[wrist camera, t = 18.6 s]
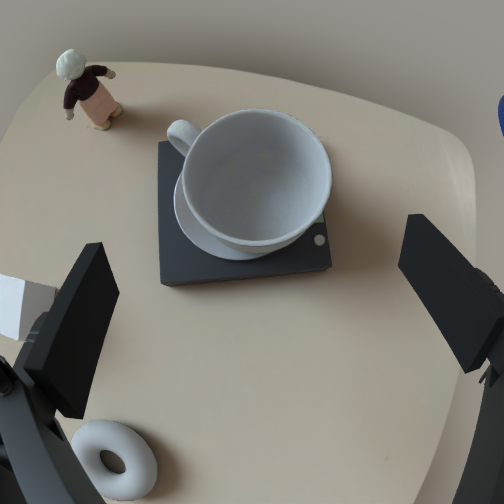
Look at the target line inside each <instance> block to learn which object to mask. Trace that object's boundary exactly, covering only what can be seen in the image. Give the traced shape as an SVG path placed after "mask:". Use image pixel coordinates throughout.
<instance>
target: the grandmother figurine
mask: <svg viewBox="0 0 504 504" xmlns="http://www.w3.org/2000/svg"><path fill="white" fill-rule="evenodd" d="M86 61H87V60H86V58H85V56H84V55H83V54H82V53H81V52H79V51H78V50H75V49H70V50H67V51H66V52H65V53H63V54H62V55H61V56H60V57H59V59H58V60H57V63H56V69H57V74H58V76H59V77H60V78H62V79H63V80H65V81H66V80H68V79H69V80H71V82H70V84H69V85H68V86H67V89H66V91H65V96H64V109H65V113H66V116H65V117H66V119H67V120H71V119H73V117H74V113H73V111H74V106H75V104H76V102H77V101H78V102H79V104H80V106H81V107H82V109H83V110H84V111H85V113H86V114H87V116H88V117H89V118H90V120H91V121H92V122H93V127H94V128H95V129H98V130H102V131H104V130H107V129H108V128H109V126H110V125H111V121H110V120H109V119H108V117H109V115H110V116H111V117H117V116H118V115H120V114H121V112H122V109H121V107H120V105H119V104H118V103H117V102H115V100H114V99H113V97H112V96H111V94H110V93H109V92H108V90H107V89H106V88H105V87H104V86H103V84H102V83H101V82H100V81H98V79H97V78H96V76H105V77H108V78H109V79H113V78H114V77H115V75H116V74H115V72H114V71H111V70H110V69H108V68H107V67H106V66H100V65H91V66H88V67H86V68H85V64H86Z"/></svg>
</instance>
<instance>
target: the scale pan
mask: <svg viewBox="0 0 504 504" xmlns="http://www.w3.org/2000/svg"><path fill="white" fill-rule="evenodd" d="M182 174H183V170H182V172H181V174H180V176H179V178H178V180H177V183H176V187H175V192H174V209H175V214H176V218H177V220H178V223H179V225H180V227H181V229H182V230H183V232H184V234H185V235H186V236H187V237H188V239H189V240H190V241H191V242H192V243H193V244H194V245H195V246H196V247H198V248H199V249H200V250H202V251H203V252H205V253H207V254H209V255H210V256H213V257H216V258H218V259H222V260H227V261H236V262H238V261H250V260H255V259H259V258H262V257H264V256H267V255H269V254H271V253H273V252H274V251H271V252H266V253H247V252H242V251H238V250H235V249H232V248H230V247H228V246H226V245H224V244H222V243H221V242H219V241H218V240H217V239H216V238H214V237H213V236H212V235H211V234H210V233H209V232H208V231H207V230H206V228H205V227H204V226H202V225H201V224H200V222H199V221H198V220H197V219H196V217H195V216H194V215H193V213H192V212H191V210H190V209H189V206H188V204H187V202H186V199H185V196H184V192H183V185H182ZM275 251H276V250H275Z"/></svg>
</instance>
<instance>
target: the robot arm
mask: <svg viewBox="0 0 504 504" xmlns="http://www.w3.org/2000/svg"><path fill="white" fill-rule="evenodd" d="M398 267H399V268H400V270H401V271H402V273H403V274H404V276H405V277H406V278H407V280H408V281H409V283H410V284H411V286H412V287H413V289H414V290H415V292H416V293H417V295H418V296H419V298H420V299H421V301H422V303H423V304H424V306H425V307H426V309H427V310H428V312H429V313H430V315H431V317H432V318H433V320H434V321H435V323H436V325H437V326H438V328H439V330H440V331H441V333H442V334H443V336H444V338H445V339H446V341H447V343H448V344H449V346H450V348H451V350H452V351H453V353H454V355H455V357H456V358H457V360H458V362H459V364H460V365H461V367H462V369H463V371H464V373H465V374H466V373H469V372H471V371H474V370H477V369H479V368H480V367H481V366H482V364H483V363H484V361H485V360H486V358H488V360H489V361H490V365H489V367H488V368H487V370H486V371H485V372H484V374H483V375H482V377H481V378H480V380H479V383H482V381H483V380H484V378H486V381H485V384H484V385H485V386H484V392H483V397H482V403H481V407H480V413H479V417H478V421H477V425H476V430H475V434H474V438H473V442H472V445H471V448H470V452H469V455H468V459H467V462H466V465H465V468H464V472H463V475H462V477H461V480H460V483H459V486H458V489H457V492H456V494H455V497H454V499H453V502H452V504H504V294H503V293H502V292H500V290H499V289H498V287H497V286H496V285H494V282H493V281H492V280H491V279H490V278H489V277H488V276H487V275H486V274H485V273H483V272H482V271H481V270H479V269H478V268H474V267H473V266H472V265H471V264H470V263H469V261H468V260H467V259H466V258H465V257H464V256H463V255H462V254H461V253H460V252H459V251H458V250H457V248H456V247H455V246H454V245H453V244H452V243H451V242H450V241H449V240H448V239H447V238H446V237H445V236H444V235H443V234H442V233H441V232H440V231H439V230H438V229H437V228H436V227H435V226H434V225H433V224H432V223H431V222H430V221H429V220H428V219H427V218H426V217H425V216H424V215H423V214H410V215H408V219H407V225H406V230H405V235H404V240H403V245H402V249H401V254H400V259H399V263H398ZM119 294H120V292H119V290H118V287H117V284H116V282H115V279H114V276H113V273H112V271H111V268H110V265H109V262H108V259H107V256H106V253H105V250H104V247H103V244H102V242H98V243H90V244H86V245H85V247H84V249H83V250H82V252H81V254H80V255H79V257H78V259H77V261H76V262H75V264H74V266H73V267H72V269H71V271H70V273H69V275H68V276H67V278H66V280H65V282H64V284H63V285H62V287H61V289H60V291H59V293H58V295H57V297H56V298H55V300H54V302H53V304H52V306H51V308H50V310H49V312H43V313H42V314H41V315H40V316H39V317H38V318H37V319H36V320H35V322H34V324H33V326H32V328H31V330H30V334H28V336H27V338H26V340H25V341H26V342H24V344H23V346H22V348H21V350H20V353H19V355H18V357H17V359H16V361H15V364H14V366H13V368H12V367H11V366H10V365H9V363H8V362H7V361H6V359H5V358H4V357H2V356H1V355H0V504H106V503H105V501H104V500H103V498H102V497H101V495H100V494H99V492H98V491H97V489H96V488H95V486H94V485H93V483H92V481H91V480H90V478H89V477H88V475H87V473H86V472H85V470H84V468H83V467H82V465H81V463H80V462H79V460H78V458H77V456H76V454H75V453H74V451H73V449H72V447H71V445H70V443H69V442H68V440H67V438H66V436H65V434H64V432H63V430H62V428H61V426H60V424H59V422H58V421H57V419H56V418H55V417H54V416H55V412H56V409H57V410H58V411H59V412H60V413H61V414H62V415H63V416H64V417H66V418H74V419H83V417H84V413H85V409H86V405H87V401H88V397H89V393H90V389H91V385H92V381H93V377H94V374H95V370H96V367H97V363H98V359H99V356H100V353H101V349H102V346H103V343H104V339H105V336H106V333H107V330H108V327H109V323H110V320H111V317H112V314H113V311H114V308H115V305H116V302H117V299H118V296H119Z"/></svg>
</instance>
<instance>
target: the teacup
mask: <svg viewBox="0 0 504 504" xmlns="http://www.w3.org/2000/svg"><path fill="white" fill-rule="evenodd" d="M167 137H168V139H169V141H170V142H171V144H172V145H173V146H174V147H175V148H176V149H177V150H178V151H179V152H180V153H181V154H182V155H183V156H185V157H186V159H185V162H184V166H183V174H182V185H183V192H184V196H185V199H186V202H187V204H188V206H189V209H190V210H191V212H192V213H193V215H194V216H195V217H196V219H197V220H198V221H199V222H200V224H201V225H202V226H204V227H205V228H206V230H207V231H208V232H209V233H210V234H211V235H212V236H213V237H214V238H216V239H217V240H218V241H219V242H221V243H222V244H224V245H226V246H228V247H230V248H232V249H235V250H238V251H242V252H247V253H266V252H271V251H275V250H278V249H281V248H283V247H285V246H287V245H289V244H290V243H292V242H294V241H295V240H296V239H297V238H299V237H300V236H301V235H302V234H303V233H304V232H305V231H306V230H307V229H308V228H309V227H310V226H311V225H312V224H313V223H314V222H315V221H316V220H317V219H318V217H319V216H320V215H321V213H322V212H323V210H324V208H325V206H326V204H327V202H328V199H329V197H330V194H331V189H332V168H331V163H330V160H329V156H328V154H327V151H326V149H325V147H324V146H323V144H322V142H321V141H320V139H319V138H318V137H317V136H316V134H315V133H314V132H313V131H312V130H311V129H310V128H309V127H307V126H306V125H305V124H304V123H302V122H301V121H299V120H298V119H296V118H293V117H292V116H290V115H286V114H284V113H281V112H279V111H274V110H270V109H262V108H261V109H245V110H240V111H236V112H233V113H230V114H228V115H225V116H223V117H221V118H220V119H218V120H217V121H215V122H213V123H212V124H211V125H209V126H208V127H207V128H206V129H204V130H203V131H201V130H200V129H198V128H197V127H196V126H195V125H193V124H192V123H190V122H188V121H185V120H177V121H175V122H173V123H172V124H171V126H170V127H169V129H168V131H167Z"/></svg>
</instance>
